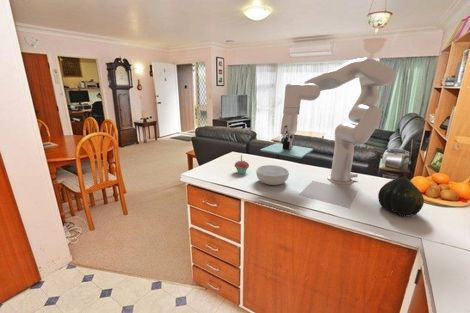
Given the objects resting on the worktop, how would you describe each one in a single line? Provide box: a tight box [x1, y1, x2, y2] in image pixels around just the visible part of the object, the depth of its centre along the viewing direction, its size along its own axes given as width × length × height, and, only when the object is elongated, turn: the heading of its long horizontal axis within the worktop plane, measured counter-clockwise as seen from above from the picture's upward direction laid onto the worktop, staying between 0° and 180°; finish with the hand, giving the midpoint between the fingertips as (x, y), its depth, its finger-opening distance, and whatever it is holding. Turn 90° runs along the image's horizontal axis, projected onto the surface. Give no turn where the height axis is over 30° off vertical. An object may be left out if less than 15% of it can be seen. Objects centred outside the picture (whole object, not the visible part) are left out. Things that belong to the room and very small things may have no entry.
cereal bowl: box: [255, 164, 290, 186], centre depth 123 cm, size 17×17×7 cm
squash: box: [377, 176, 425, 217], centre depth 96 cm, size 14×15×15 cm
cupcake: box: [234, 153, 250, 175], centre depth 137 cm, size 9×8×12 cm
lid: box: [259, 139, 314, 159], centre depth 115 cm, size 20×20×6 cm
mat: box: [298, 180, 358, 209], centre depth 112 cm, size 22×22×1 cm
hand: (287, 148), depth 115 cm, fingers closed on lid, 4 cm apart
